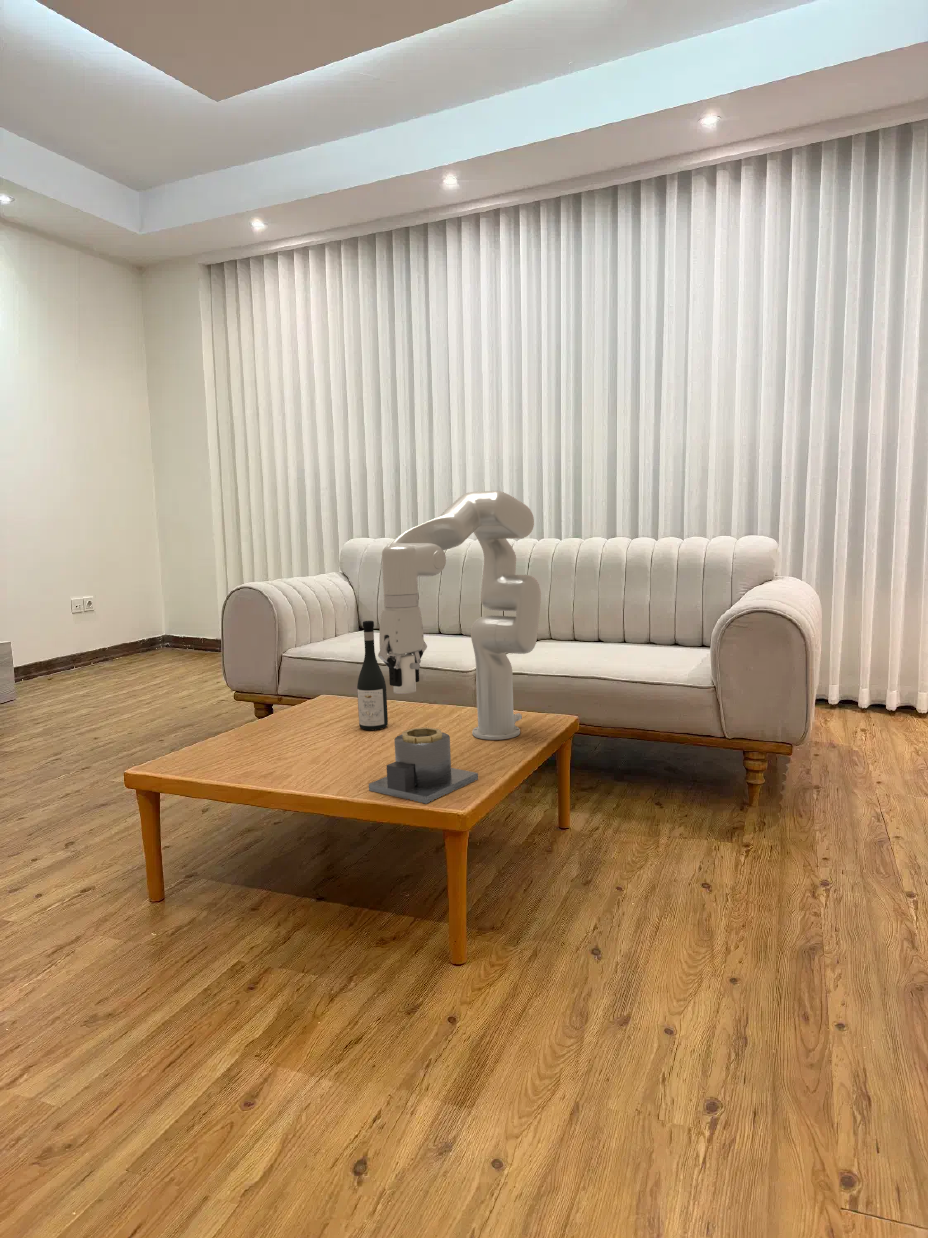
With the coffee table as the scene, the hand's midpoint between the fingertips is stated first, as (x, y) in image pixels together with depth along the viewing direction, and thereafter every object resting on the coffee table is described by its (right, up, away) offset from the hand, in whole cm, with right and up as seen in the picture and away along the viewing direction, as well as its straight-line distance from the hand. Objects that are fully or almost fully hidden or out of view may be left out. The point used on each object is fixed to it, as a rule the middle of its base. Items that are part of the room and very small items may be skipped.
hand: (404, 682), depth 186 cm
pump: (0, -2, 0) cm, 2 cm away
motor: (+5, -22, -3) cm, 23 cm away
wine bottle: (-12, -16, +48) cm, 52 cm away
